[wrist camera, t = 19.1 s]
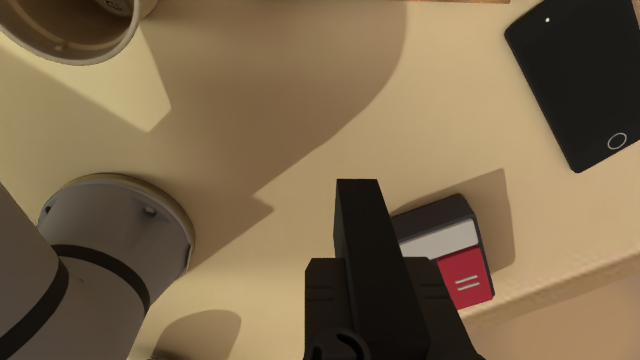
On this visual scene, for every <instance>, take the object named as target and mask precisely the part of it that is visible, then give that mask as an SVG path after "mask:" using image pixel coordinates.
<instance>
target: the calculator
mask: <svg viewBox="0 0 640 360" xmlns="http://www.w3.org/2000/svg"><path fill="white" fill-rule="evenodd" d="M391 222H392V225H393V228H394V231H395V234H396V237H397V240H398V243H399V246H400V249H401V252H402V255H403V257H427V258H428V259H429V260H430V261H431V262H432V263H433V264H434V265H435V266H436V267H437V268H438V269H439V271H440V273H441V275H442V278H443V280H444V282H445V286H446V287H447V289H448V291H449V293H450V298H451V299H452V300H453V302H454V305H455V307H456V309H457V310H460V309H463V308H466V307H469V306H473V305H476V304H479V303H483V302H486V301H489V300H492V299H493V297H494V296H495V292H494V288H493V284H492V279H491V275H490V271H489V267H488V263H487V259H486V255H485V251H484V247H483V243H482V239H481V235H480V231H479V227H478V223H477V219H476V215H475V213H474V212H473V210H472V209H471V207H470V206H469V204H468V203H467V201H466V200H465V198H464V197H463V196H462V195H461V194H457V195H454V196H452V197H449V198H446V199H443V200H441V201H438V202H435V203H432V204H430V205H427V206H424V207H422V208H419V209H416V210H413V211H411V212H408V213H405V214H402V215H400V216H397V217H394V218H392V219H391Z"/></svg>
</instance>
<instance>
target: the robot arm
mask: <svg viewBox="0 0 640 360" xmlns="http://www.w3.org/2000/svg"><path fill="white" fill-rule="evenodd" d="M333 238H334V248H335V258H312V259H311V261H310V263H309V264H308V266H307V268H306V270H305V352H304V358H303V360H486V359H485V358H483V357H482V356H481V355H479V354H478V353H477V352H476V350H475V349H474V347H473V345H472V343H471V341H470V338H469V336H468V334H467V332H466V329H465V327H464V325H463V323H462V320H461V318H460V316H459V314H458V311H457V309H456V307H455V305H454V302H453V300H452V299H451V298H450V293H449V291H448V289H447V287H446V286H445V282H444V280H443V278H442V275H441V273H440V271H439V269H438V268H437V267H436V266H435V265H434V264H433V263H432V262H431V261H430V260H429V259H428V258H427V257H403V255H402V252H401V249H400V246H399V243H398V240H397V237H396V234H395V231H394V228H393V225H392V222H391V219H390V216H389V213H388V210H387V207H386V204H385V202H384V199H383V196H382V193H381V190H380V187H379V184H378V181H377V179H337V183H336V199H335V215H334V231H333ZM194 243H195V237H194V231H193V227H192V225H191V222H190V220H189V218H188V216H187V215H186V214H185V212H184V211H183V209H182V208H181V207H180V206H179V205H178V204H177V203H176V202H175V201H174V200H173V199H172V198H171V197H170V196H168V195H167V194H165V193H164V192H163V191H161V190H159V189H158V188H156V187H154V186H152V185H150V184H148V183H146V182H144V181H141V180H138V179H135V178H131V177H128V176H123V175H116V174H93V175H87V176H83V177H80V178H77V179H75V180H72V181H70V182H69V183H67V184H66V185H64V186H63V187H62V188H61V189H60V190H59V191H58V192H56V193H55V194H54V195H53V196H52V197H51V198H50V199H49V200H48V201H47V202H46V204H45V205H44V207H43V209H42V211H41V214H40V217H39V220H38V224H37V225H36V227H35V226H34V224H33V223H32V222H31V221H30V219H29V218H28V217H27V215H26V214H25V213H24V212H23V210H22V209H21V208H20V207H19V205H18V204H17V203H16V201H15V200H14V199H13V198H12V196H11V195H10V194H9V192H8V191H7V190H6V189H5V187H4V186H3V185H2V183H1V182H0V360H126V359H127V357H128V354H129V352H130V350H131V348H132V345H133V343H134V341H135V339H136V336H137V334H138V332H139V330H140V327H141V325H142V323H143V320H144V318H145V316H146V314H147V312H148V310H149V308H150V306H151V305H152V304H153V303H154V302H155V301H156V300H157V299H158V297H159V296H160V295H161V294H162V293H163V292H164V291H165V290H166V289H167V288H168V287H169V286H170V284H171V283H172V282H173V281H174V280H176V279H177V278H178V277H179V276H180V275H181V274H182V273H183V272H184V270H185V268H186V267H187V270H188V267H189V263H190V257H191V255H192V252H193V249H194ZM187 270H186V272H187Z"/></svg>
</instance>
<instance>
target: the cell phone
mask: <svg viewBox="0 0 640 360" xmlns="http://www.w3.org/2000/svg"><path fill="white" fill-rule="evenodd" d="M504 36H505V39H506V40H507V42H508V44H509V46H510V48H511V50H512V52H513V54H514V56H515V58H516V60H517V62H518V64H519V66H520V68H521V70H522V72H523V74H524V76H525V78H526V80H527V82H528V84H529V86H530V88H531V90H532V92H533V94H534V96H535V98H536V100H537V102H538V104H539V106H540V108H541V110H542V112H543V114H544V116H545V118H546V120H547V122H548V124H549V126H550V128H551V130H552V132H553V134H554V136H555V138H556V140H557V142H558V144H559V146H560V148H561V150H562V152H563V154H564V156H565V158H566V160H567V162H568V164H569V166H570V169H571V170H572V171H574V172H575V173H581V172H583V171H585V170H587V169H588V168H590V167H592V166H594V165H595V164H597V163H599V162H601V161H603V160H604V159H606V158H608V157H610V156H612V155H613V154H615V153H617V152H619V151H620V150H622V149H624V148H626V147H628V146H629V145H631V144H633V143H635V142H637V141H638V140H640V29H639V25H638V22H637V18H636V15H635V12H634V8H633V5H632V2H631V0H544V1H543V2H541V3H540V4H539V5H537V6H536V7H535V8H533V9H532V10H531V11H529V12H528V13H527V14H525V15H524V16H522V17H521V18H520V19H518V20H517V21H516V22H514V23H513V24H512V25H511V26H509V27H508V28H507V29H506V31H505V33H504Z"/></svg>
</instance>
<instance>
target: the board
mask: <svg viewBox="0 0 640 360" xmlns="http://www.w3.org/2000/svg"><path fill="white" fill-rule="evenodd" d="M405 1H438V2H471V3H504V4H509V3H510V0H405Z"/></svg>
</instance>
